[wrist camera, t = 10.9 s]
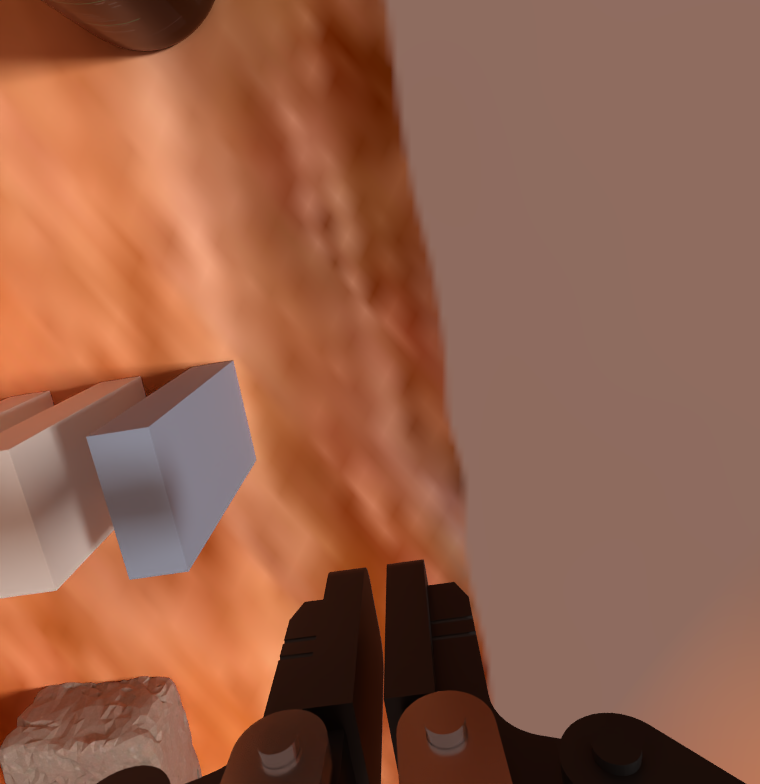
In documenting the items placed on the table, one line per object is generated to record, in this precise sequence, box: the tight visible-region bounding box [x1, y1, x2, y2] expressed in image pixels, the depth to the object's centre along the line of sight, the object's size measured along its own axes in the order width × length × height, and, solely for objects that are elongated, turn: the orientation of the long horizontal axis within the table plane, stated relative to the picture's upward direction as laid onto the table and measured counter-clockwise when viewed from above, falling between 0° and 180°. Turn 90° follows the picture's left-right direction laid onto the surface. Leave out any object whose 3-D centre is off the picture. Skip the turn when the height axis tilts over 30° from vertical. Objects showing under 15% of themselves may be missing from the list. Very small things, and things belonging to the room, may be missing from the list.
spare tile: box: [86, 361, 256, 580], centre depth 24 cm, size 5×2×10 cm, turn 9°
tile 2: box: [0, 376, 146, 598], centre depth 24 cm, size 5×2×10 cm, turn 9°
